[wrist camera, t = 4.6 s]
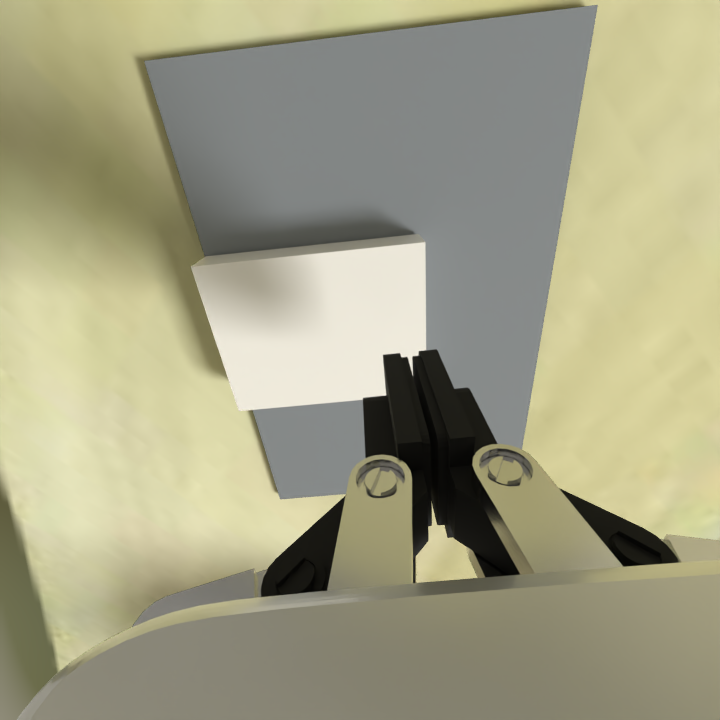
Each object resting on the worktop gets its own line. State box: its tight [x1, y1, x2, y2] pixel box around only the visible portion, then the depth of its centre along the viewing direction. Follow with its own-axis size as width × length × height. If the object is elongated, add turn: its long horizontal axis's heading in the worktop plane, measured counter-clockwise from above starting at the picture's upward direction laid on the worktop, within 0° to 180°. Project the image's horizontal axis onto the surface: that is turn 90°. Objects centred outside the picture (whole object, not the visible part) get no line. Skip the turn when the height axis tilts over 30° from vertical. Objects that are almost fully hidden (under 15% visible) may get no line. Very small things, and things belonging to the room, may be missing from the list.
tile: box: [191, 234, 426, 411], centre depth 16 cm, size 7×2×9 cm
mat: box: [144, 5, 598, 499], centre depth 17 cm, size 22×15×1 cm
